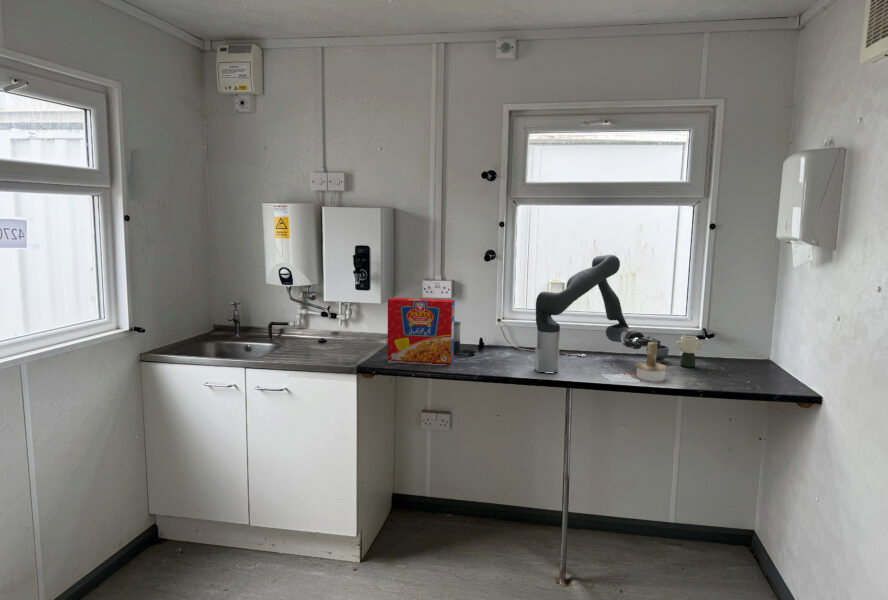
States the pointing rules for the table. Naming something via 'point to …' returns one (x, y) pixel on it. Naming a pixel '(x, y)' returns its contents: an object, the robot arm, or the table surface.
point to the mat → (630, 375)
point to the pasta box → (421, 330)
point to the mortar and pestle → (660, 352)
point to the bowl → (650, 375)
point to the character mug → (688, 350)
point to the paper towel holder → (651, 360)
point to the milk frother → (457, 340)
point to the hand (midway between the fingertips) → (649, 346)
